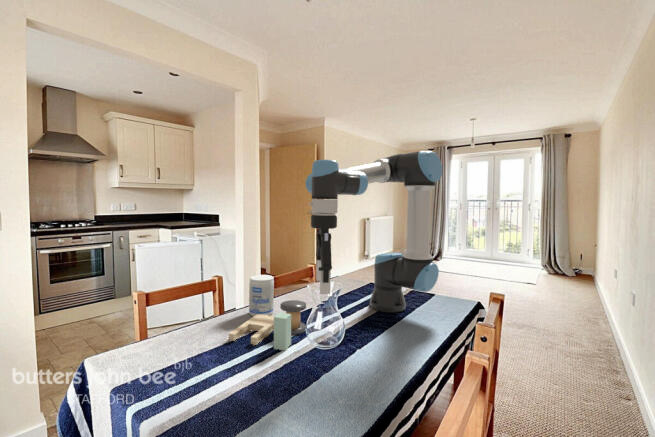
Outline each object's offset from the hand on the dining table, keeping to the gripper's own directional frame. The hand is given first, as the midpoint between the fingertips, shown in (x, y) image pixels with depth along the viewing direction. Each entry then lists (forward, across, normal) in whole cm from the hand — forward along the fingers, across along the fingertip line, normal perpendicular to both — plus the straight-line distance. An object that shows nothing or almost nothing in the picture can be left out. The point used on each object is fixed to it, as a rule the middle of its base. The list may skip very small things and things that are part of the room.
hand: (322, 286), depth 92 cm
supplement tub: (+21, -35, -21) cm, 46 cm away
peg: (+21, -6, -12) cm, 24 cm away
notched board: (+21, -18, -21) cm, 34 cm away
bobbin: (+20, -19, -8) cm, 29 cm away
